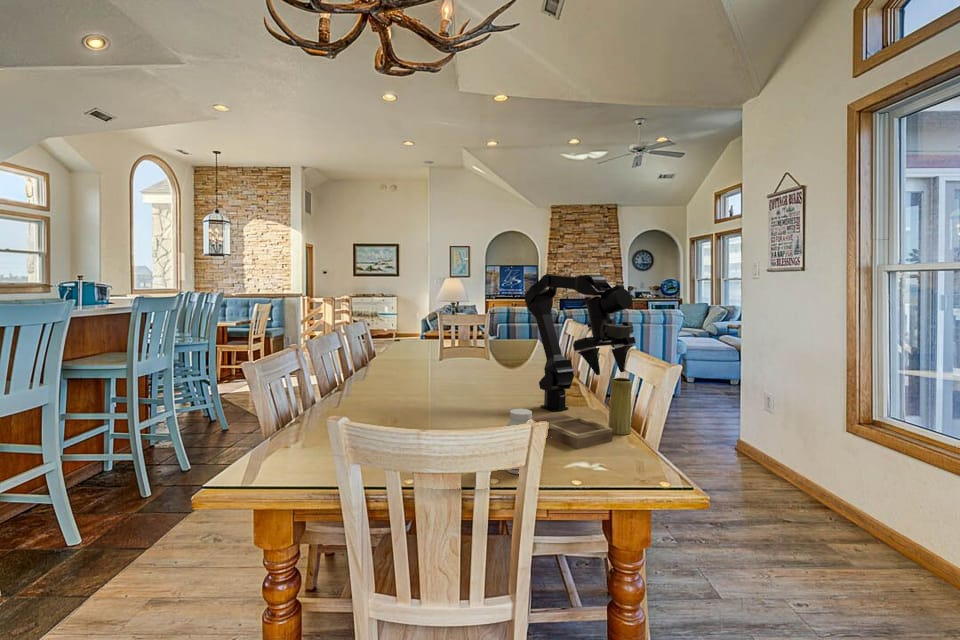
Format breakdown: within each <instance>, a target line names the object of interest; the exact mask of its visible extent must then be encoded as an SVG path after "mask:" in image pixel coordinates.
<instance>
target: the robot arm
mask: <svg viewBox="0 0 960 640" xmlns="http://www.w3.org/2000/svg"><path fill="white" fill-rule="evenodd" d="M558 288H560V289H567V290H568V289H569V290H574V291H575V292H577V293H579V294H581V295H584V296H585V297H584V299H583V301H581V303H580V306H581V307H586V310H587V313H588V319H589V323H587V324H586V325H587V328H590V329H591V334H592V336H587V337H583V338H578V339H576V340H574V341H573V343H572V347H573V352H577V354H578V355H581V357H582V358H583V359H584V360H585V361H586V363H587V364H588V366H589V367H590V368H591V370H592V371H593V372H594V373H595V375H596V376H600V375H601V367H600V363H599V356H598V354H599V351H600V349H601V348H600V347H607V346H608V347H609V346H611V347H612V349H611V353H612V354H613V355H612V356H613V358H614V361H615V363H616V366H617V368H618V370H619V373H624V372H625V368H626V361H627V355H628V352H629V350H630V349H631V348H633V347H634V345H635V344H636V343H637V342H636V338H635V336H634V335H633V333H634V331H635V330H634V326H633V325H634V324H633V322H632V321H623V322H622V324H617V323H616V320H615V319H614V318H611V315H614V314H617V313H620V312H622V311H626V310H628V309H630V308H631V307H632V306H633V297H632V295H631V294H630V293H629V291H628V290H627V289H625V286H624V284H617V285H615V286H612V284H610V283H609V282H608V280H607V278H606V276H605V275H603V274H582V275H581V274H580V275H577V276H572V275H561V274H560V275H559V274H557V273H545V274H544V275H542V277H541V278H540V279H539V280H538V281H536V282H535V283H534V284H532V285H531V286H530V287H529V289H528V290H527V291H526V293H525V294H524V302H525V304H526V308H527V310H528V311H529V312H530V313H531V315H533V316H534V318H535V321H536V324H537V328H538V331H539V335H540V336H539V337H540V340H541V344H542V348H543V350H544V354H545V358H546V362H545V365H544V369H543V370H544V375H543V377H542V378H541V379H540V380H539V382H538V385H539V386H538V387H539V389H540V390H543V391H544V399H543V400H544V401H543V404H541V405H540V406H539V407H540V408H542V409H545V410H547V411H551V412H557V411H558V412H559V411H565V410H569V409H570V407H568V406H566V401H567V400H566V398H567V395H566V390H571V387H572V384H573V380H574V378H575V373H574V372H575V370H574V368H573V365H572V360H571V359H570V358H568V359H567V358H565V357H564V356H563V353H562V349H561V346H560V343H559V339H558V336H557V332H556V329H555V328H556V327H555V325H554V320H553V317H552V314H551V312H552V310H553V309H552V308H553V305H554V303H553V299H554V298H555V297H556V295H557V291H558ZM592 296H593V297H592Z"/></svg>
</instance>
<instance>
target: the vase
mask: <svg viewBox="0 0 960 640" xmlns="http://www.w3.org/2000/svg"><path fill="white" fill-rule="evenodd" d="M632 382H633V381H632V379H631V378H626V377H613V378H611V383H610V384H611V385H610V401H609V413H608V426H607V427H609V428H612V434H613V433H615V434H614V435H618V434H621V435H620V436H625V435H626V434H627V435H630V434H631V432H632V430H631V429H632V428H631V423H632V422H631V415H632V390H633V387H632V386H633V383H632ZM623 434H624V435H623ZM627 435H626V436H627Z"/></svg>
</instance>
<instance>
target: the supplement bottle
mask: <svg viewBox="0 0 960 640" xmlns="http://www.w3.org/2000/svg"><path fill="white" fill-rule="evenodd" d="M532 417H533V411H532V410H531V409H528V408H527V409H526V408H513V409H510V410H509V418H510V421H507V423H506V424H505V426H511V425H519V424H524V423H526V422H527V421H528V420H530V419H531V418H532ZM505 471H507V472H508V473H511V474H513V475H518V472H519V469H511V470H506V469H505Z"/></svg>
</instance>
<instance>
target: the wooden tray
mask: <svg viewBox="0 0 960 640" xmlns="http://www.w3.org/2000/svg"><path fill="white" fill-rule="evenodd" d="M531 419H533V420H534V421H536V422H539V421H547V422H549V429H548V436H549V437H548V438H550V437H552V438H554V439H556V440H555V441H557V440H558V441H557V442H559V441H560V443H561V442H562V444H563V445H566V446H568V447H571V448H573V449H575V450H579V449H582V448H587V447H588V446H589V447H591V446H592V445H593V446H596V445H597V444H598V445H602V444H605V442H607V443H610V442H609V441H612V442H613V433H612V428H609V427H608V426H606V425H603V424H601V423H599V422H598V423H597V422H594V421H593V420H592V421H591V420H589V419H586V418H583V417H580V416H578V417H572V416H570V415H567V414H564V413H561V412H558V413H552V414H544V415H539V416H532V418H531ZM552 438H551V439H552ZM554 439H553V440H554ZM601 443H602V444H601Z"/></svg>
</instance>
